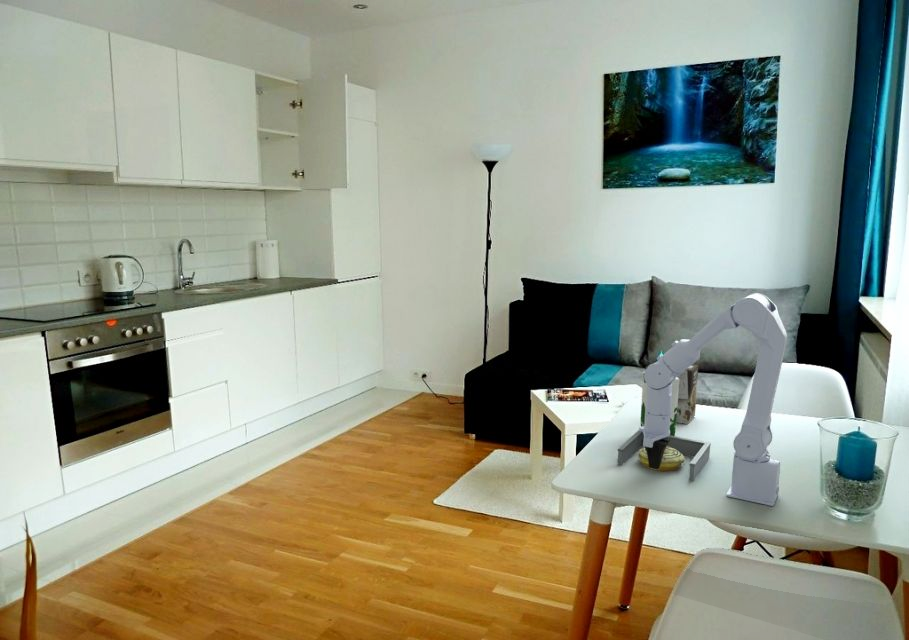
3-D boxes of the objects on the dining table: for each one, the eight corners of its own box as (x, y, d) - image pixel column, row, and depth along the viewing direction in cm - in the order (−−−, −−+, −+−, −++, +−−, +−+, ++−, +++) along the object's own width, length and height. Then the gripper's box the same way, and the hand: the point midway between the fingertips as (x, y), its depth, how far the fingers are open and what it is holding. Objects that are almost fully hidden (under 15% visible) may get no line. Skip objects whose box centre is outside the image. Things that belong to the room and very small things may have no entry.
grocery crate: (709, 458, 171) (710, 442, 171) (693, 481, 157) (695, 464, 156) (638, 444, 181) (639, 429, 180) (617, 464, 166) (617, 448, 166)
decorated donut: (692, 466, 166) (693, 451, 165) (665, 476, 160) (666, 461, 159) (656, 453, 174) (657, 439, 174) (629, 463, 168) (630, 448, 167)
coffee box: (688, 425, 197) (692, 370, 195) (666, 421, 201) (669, 367, 198) (695, 416, 205) (699, 364, 202) (674, 413, 208) (677, 361, 206)
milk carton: (636, 433, 189) (640, 363, 186) (669, 434, 189) (673, 364, 186) (644, 444, 181) (648, 371, 177) (678, 445, 180) (683, 371, 177)
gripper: (649, 402, 167) (646, 454, 169) (631, 417, 155) (628, 473, 157) (678, 406, 164) (675, 460, 166) (662, 422, 151) (658, 480, 154)
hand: (654, 467), depth 161 cm, fingers closed
